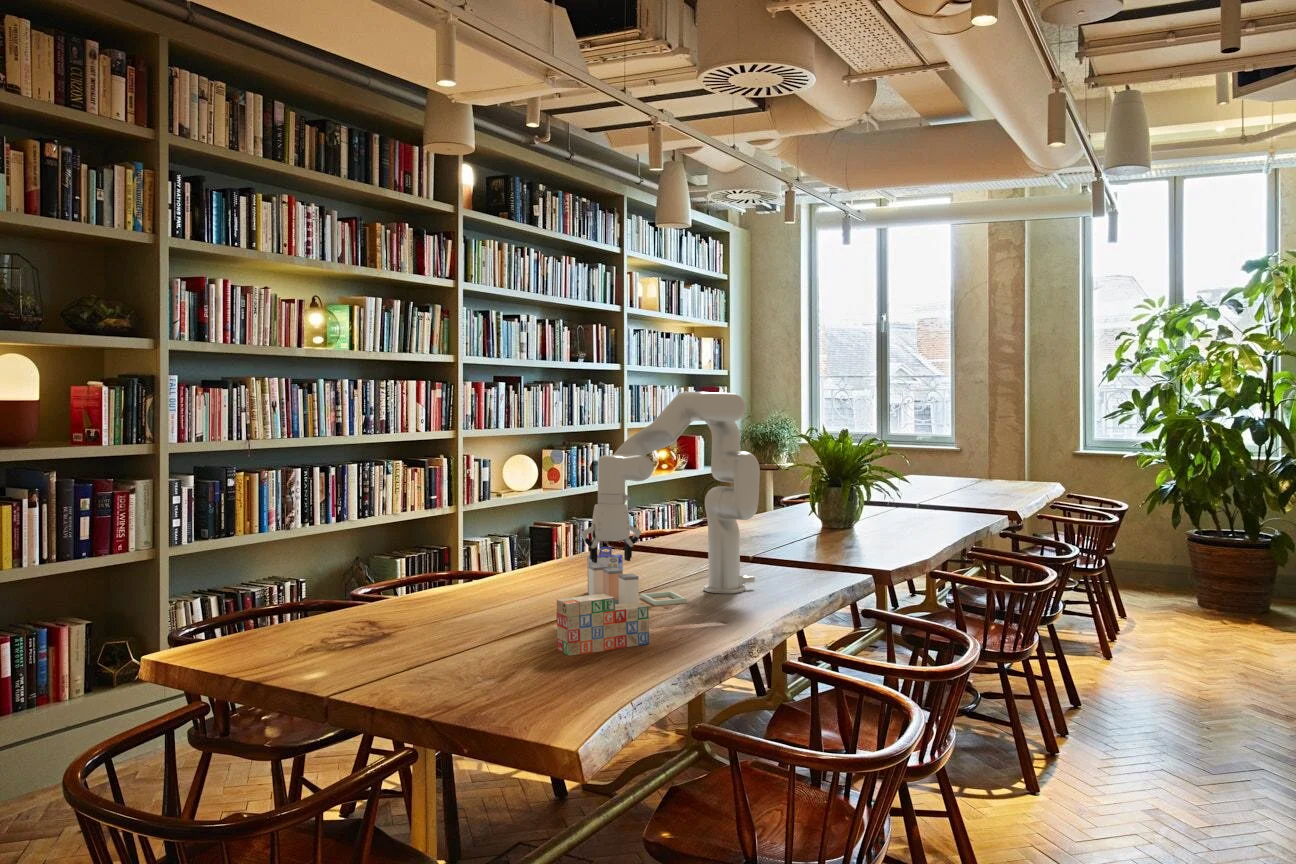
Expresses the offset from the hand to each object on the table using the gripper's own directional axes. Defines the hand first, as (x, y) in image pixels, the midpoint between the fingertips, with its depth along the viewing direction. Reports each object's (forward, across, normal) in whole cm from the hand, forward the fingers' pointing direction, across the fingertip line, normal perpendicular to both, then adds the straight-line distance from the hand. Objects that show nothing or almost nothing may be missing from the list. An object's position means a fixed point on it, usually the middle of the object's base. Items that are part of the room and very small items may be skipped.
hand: (610, 561), depth 281 cm
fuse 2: (+12, -2, +9) cm, 15 cm away
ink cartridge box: (+14, -5, -19) cm, 24 cm away
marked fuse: (+12, -1, 0) cm, 12 cm away
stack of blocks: (+14, +15, +40) cm, 45 cm away
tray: (+13, -16, 0) cm, 21 cm away
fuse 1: (+12, +1, -9) cm, 16 cm away
